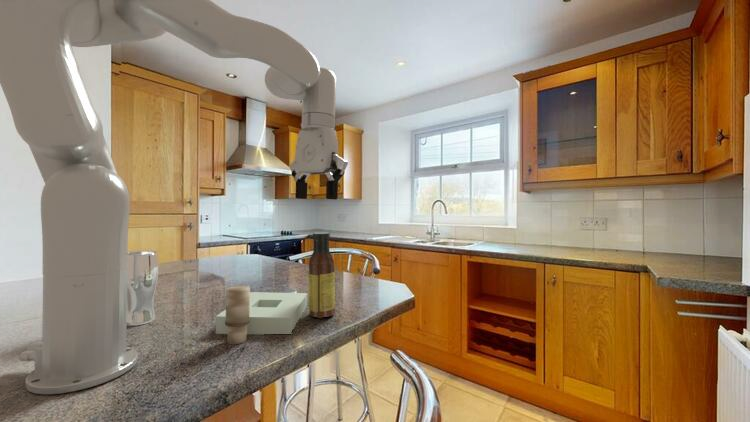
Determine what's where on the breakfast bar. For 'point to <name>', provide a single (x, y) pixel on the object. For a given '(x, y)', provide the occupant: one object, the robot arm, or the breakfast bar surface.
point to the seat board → (270, 313)
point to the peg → (237, 313)
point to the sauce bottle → (321, 278)
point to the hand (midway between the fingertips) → (315, 198)
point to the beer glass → (141, 286)
